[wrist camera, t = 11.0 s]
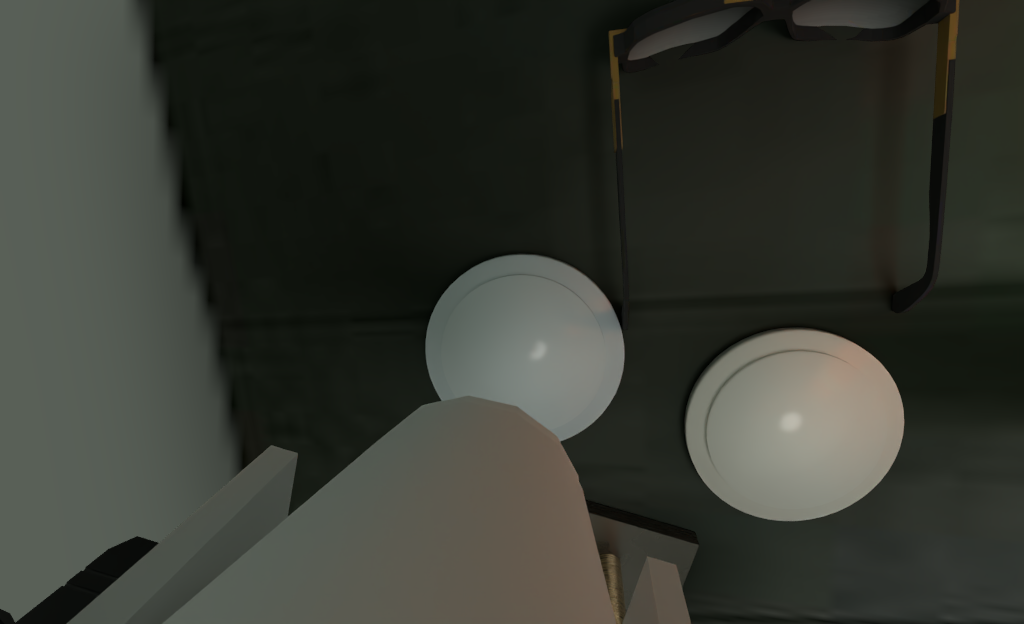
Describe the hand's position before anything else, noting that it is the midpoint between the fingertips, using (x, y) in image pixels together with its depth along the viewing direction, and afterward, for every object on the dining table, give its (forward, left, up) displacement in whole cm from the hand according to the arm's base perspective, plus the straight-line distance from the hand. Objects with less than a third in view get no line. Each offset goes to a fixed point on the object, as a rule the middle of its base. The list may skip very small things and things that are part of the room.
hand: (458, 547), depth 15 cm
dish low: (0, 0, -17) cm, 17 cm away
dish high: (0, +15, -17) cm, 23 cm away
